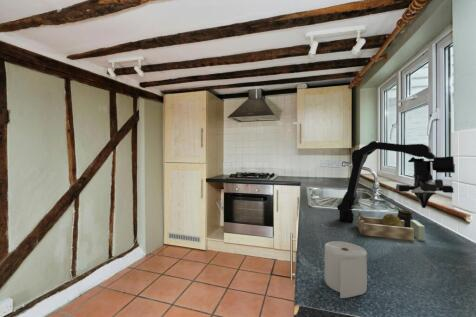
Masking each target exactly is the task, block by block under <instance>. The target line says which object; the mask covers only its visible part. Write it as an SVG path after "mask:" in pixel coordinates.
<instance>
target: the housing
mask: <svg viewBox="0 0 476 317" xmlns="http://www.w3.org/2000/svg"><path fill="white" fill-rule="evenodd" d="M361 213H362V211H357V214H356V227H357V229H358V231H359V234H360V235H363V236H371V237H378V238H379V237H381V238H386V239H387V238H388V239H398V240H405V241H415V236H414V229H413V228H407V227H404V220H401V222H402V226H403V227H397V226H387V225H383V223H382V219H383V217H381V218H380V217H371V216H364V215H363V214H361Z"/></svg>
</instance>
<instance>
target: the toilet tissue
mask: <svg viewBox="0 0 476 317" xmlns="http://www.w3.org/2000/svg"><path fill="white" fill-rule="evenodd" d="M367 264H368V252H367V250H366V249H365V248H364V247H362V246H359V245H357V244H355V243H352V242H348V241H347V242H346V241H343V240H342V241H341V240H340V241H339V240H338V241H336V240H334V241H333V240H332V241H329V242H326V243H325V244H324V276H323V277H324V283H325V284H326V285H327V287H329V288H330V289H332V290H333V291H336V292H338V293H339V298H340V299H343V298H344V299H346V298H351V297H356V296H361V295H363V294H365V293H366V292H367V290H368V288H367V287H368V286H367V284H368V283H367V280H368V279H367V278H368V265H367Z"/></svg>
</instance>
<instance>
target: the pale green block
mask: <svg viewBox="0 0 476 317" xmlns="http://www.w3.org/2000/svg"><path fill="white" fill-rule="evenodd" d="M410 228H413V229H414V238H416V239H417V240H418V241H423V242H425V241H426V240H425V239H426V238H425V236H426V234H425V231H426V230H425V228H426V226H425V225H423V224H422V223H421V222H419V221H418V220H415V219H413V220H410Z"/></svg>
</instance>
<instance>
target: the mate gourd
mask: <svg viewBox="0 0 476 317" xmlns="http://www.w3.org/2000/svg"><path fill="white" fill-rule="evenodd" d="M395 208H396V209H397V215H396V216H398V218H399V219H400V220H404V227H407V228H410V220H414V218H413V216H412V213H413V212H412V211H410V210H407V209H406V210H405V209H399V208H398V206H395Z"/></svg>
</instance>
